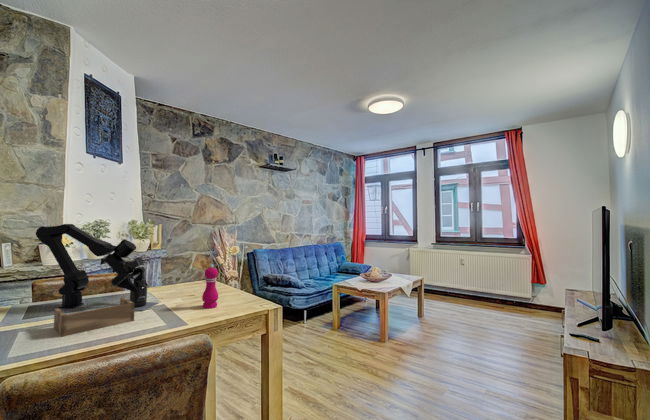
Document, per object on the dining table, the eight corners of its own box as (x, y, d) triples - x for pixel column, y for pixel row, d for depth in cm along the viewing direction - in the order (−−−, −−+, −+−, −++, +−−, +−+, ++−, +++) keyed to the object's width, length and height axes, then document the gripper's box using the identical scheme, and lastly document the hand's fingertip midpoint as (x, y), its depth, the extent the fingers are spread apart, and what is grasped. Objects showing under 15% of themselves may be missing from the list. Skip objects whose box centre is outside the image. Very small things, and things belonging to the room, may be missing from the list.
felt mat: (116, 310, 134) (116, 309, 134) (133, 302, 146) (134, 301, 146) (142, 311, 134) (142, 310, 134) (158, 303, 146) (158, 302, 146)
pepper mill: (220, 305, 147) (222, 263, 147) (213, 309, 140) (215, 265, 140) (206, 304, 147) (208, 262, 148) (198, 308, 140) (200, 265, 141)
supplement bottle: (142, 308, 137) (143, 281, 137) (126, 307, 136) (127, 281, 137) (149, 303, 144) (150, 278, 144) (134, 303, 143) (135, 278, 144)
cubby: (53, 327, 112) (54, 308, 112) (122, 313, 130) (123, 297, 130) (61, 336, 104) (62, 316, 105) (134, 320, 122) (134, 303, 122)
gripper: (119, 255, 131) (145, 280, 132) (142, 250, 150) (164, 273, 151) (99, 272, 130) (125, 298, 131) (124, 265, 149) (147, 288, 150)
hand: (142, 288), depth 141 cm, fingers open, 9 cm apart
